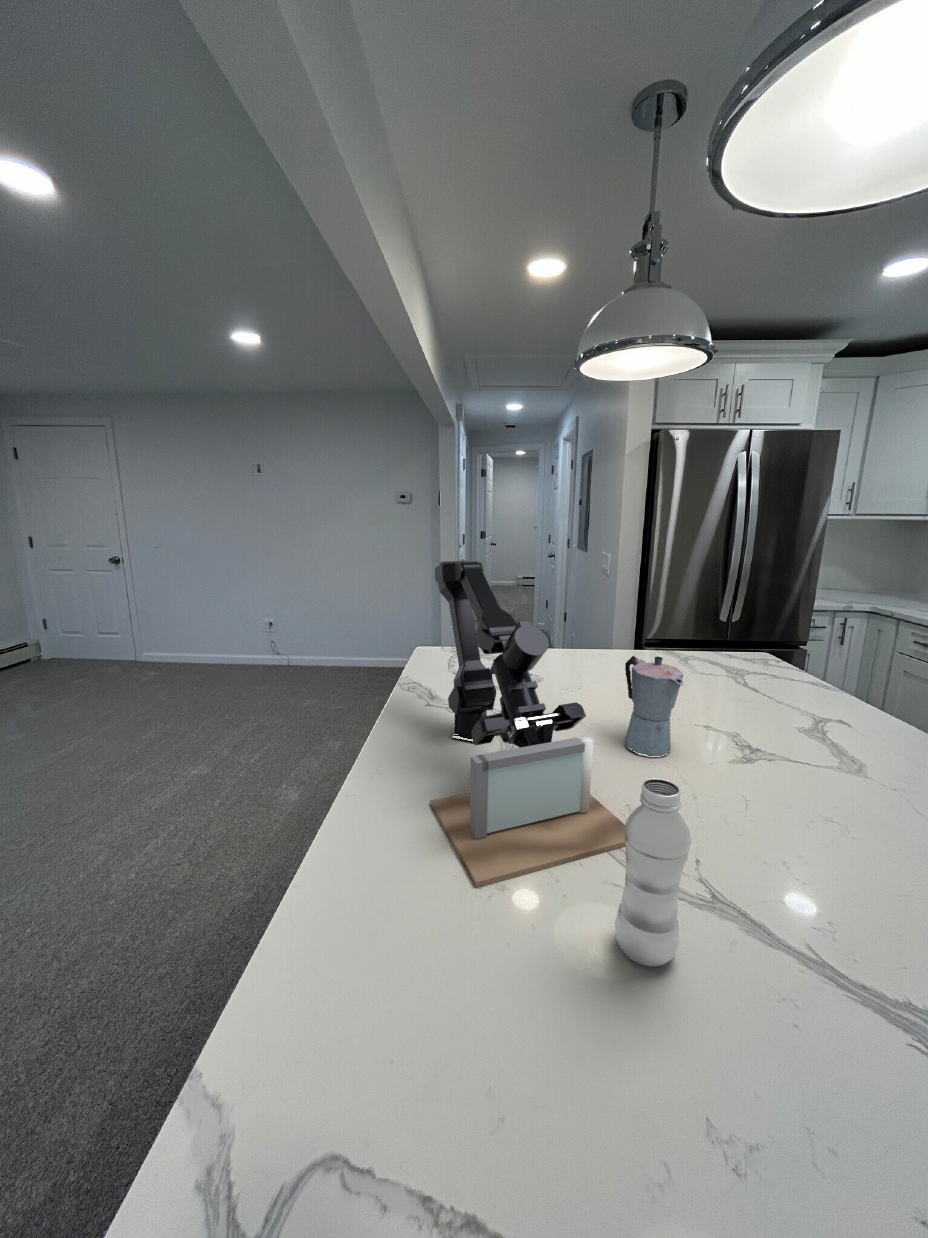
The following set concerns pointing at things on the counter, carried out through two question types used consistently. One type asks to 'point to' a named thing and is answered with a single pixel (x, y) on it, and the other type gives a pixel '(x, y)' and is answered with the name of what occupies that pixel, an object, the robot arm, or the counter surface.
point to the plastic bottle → (653, 875)
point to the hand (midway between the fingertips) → (546, 774)
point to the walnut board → (527, 840)
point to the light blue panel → (529, 784)
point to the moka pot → (651, 705)
